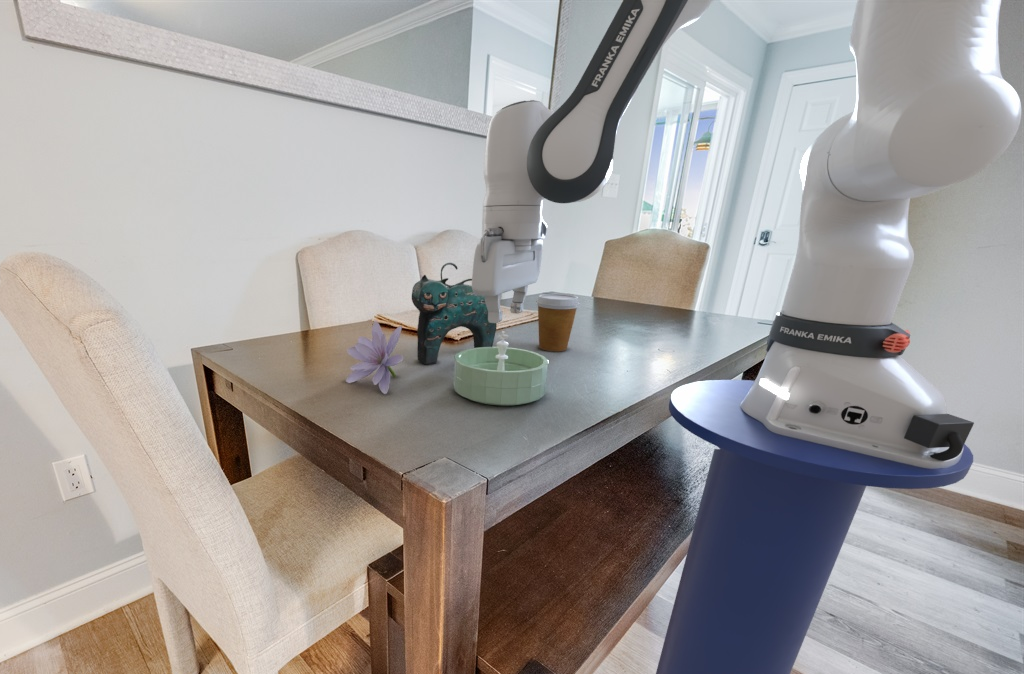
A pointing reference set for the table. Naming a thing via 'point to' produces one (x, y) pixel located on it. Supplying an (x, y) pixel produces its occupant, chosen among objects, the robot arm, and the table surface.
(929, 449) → the robot arm
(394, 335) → the water lily
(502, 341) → the chess piece
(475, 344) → the ceramic cat
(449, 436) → the table surface
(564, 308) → the disposable coffee cup
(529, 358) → the mint green pet bowl
